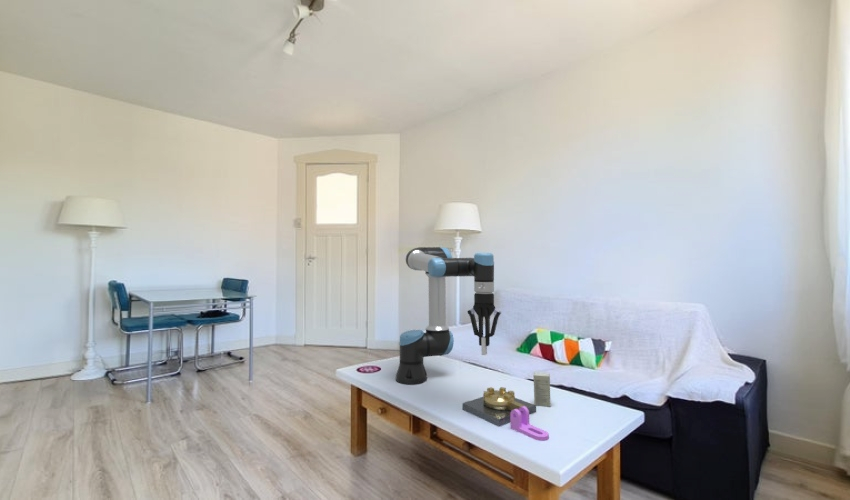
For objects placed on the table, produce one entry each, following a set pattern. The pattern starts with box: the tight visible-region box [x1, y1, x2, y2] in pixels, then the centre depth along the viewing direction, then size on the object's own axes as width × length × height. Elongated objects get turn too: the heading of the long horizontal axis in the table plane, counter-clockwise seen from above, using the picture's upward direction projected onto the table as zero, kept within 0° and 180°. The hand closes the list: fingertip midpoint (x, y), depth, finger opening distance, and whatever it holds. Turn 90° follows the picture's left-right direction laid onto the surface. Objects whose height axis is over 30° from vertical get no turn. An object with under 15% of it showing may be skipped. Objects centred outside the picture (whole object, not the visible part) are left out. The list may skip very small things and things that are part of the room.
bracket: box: [509, 406, 550, 442], centre depth 131 cm, size 13×6×7 cm, turn 37°
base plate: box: [462, 396, 537, 427], centre depth 149 cm, size 22×21×3 cm
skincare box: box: [532, 371, 552, 407], centre depth 157 cm, size 6×4×12 cm
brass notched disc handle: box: [482, 386, 527, 411], centre depth 147 cm, size 19×12×4 cm, turn 33°
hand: (484, 354), depth 148 cm, fingers closed
